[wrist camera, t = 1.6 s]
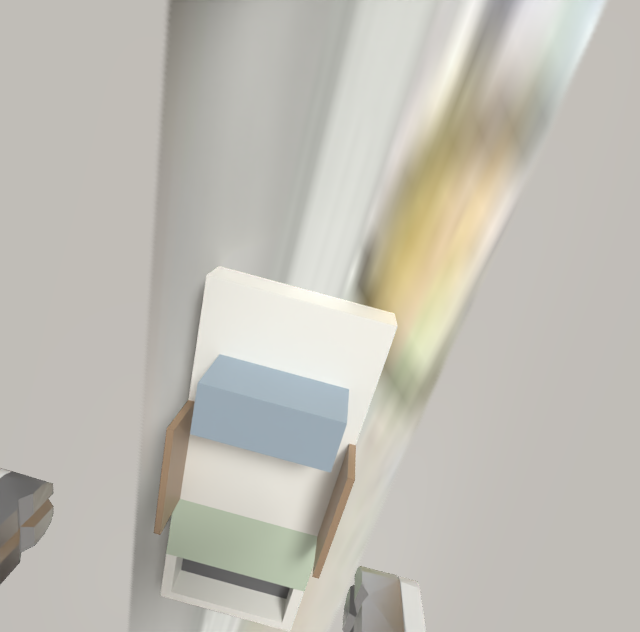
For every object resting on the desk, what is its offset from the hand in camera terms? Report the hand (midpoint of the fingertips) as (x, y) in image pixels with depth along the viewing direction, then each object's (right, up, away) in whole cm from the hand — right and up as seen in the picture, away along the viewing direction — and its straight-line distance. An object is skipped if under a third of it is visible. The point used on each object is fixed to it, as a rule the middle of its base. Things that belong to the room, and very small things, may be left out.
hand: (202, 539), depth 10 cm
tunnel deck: (-2, -7, +24) cm, 25 cm away
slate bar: (0, 0, +18) cm, 18 cm away
